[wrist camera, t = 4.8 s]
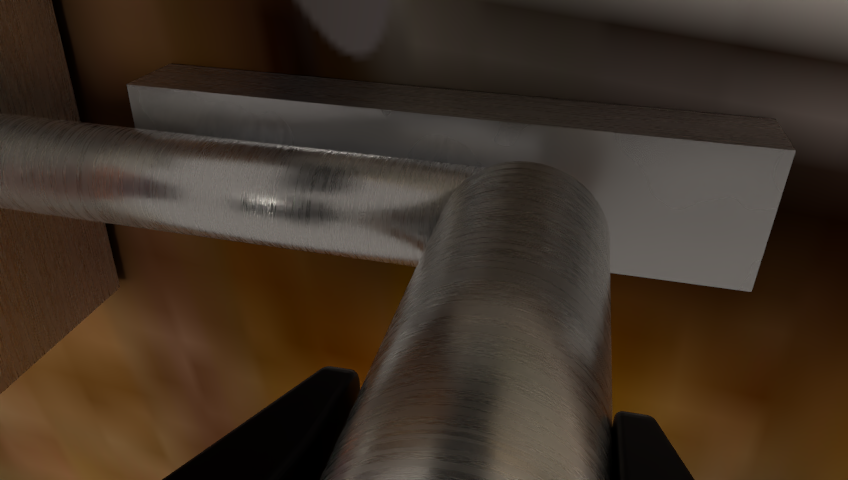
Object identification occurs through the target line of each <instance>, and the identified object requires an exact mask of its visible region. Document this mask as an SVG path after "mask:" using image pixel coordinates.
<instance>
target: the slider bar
mask: <svg viewBox="0 0 848 480" xmlns="http://www.w3.org/2000/svg"><path fill="white" fill-rule="evenodd" d="M105 223H111V224H118V225H125V226H132V227H139V228H146V229H153V230H160V231H167V232H174V233H181V234H188V235H195V236H202V237H209V238H216V239H223V240H230V241H238V242H245V243H252V244H259V245H266V246H273V247H280V248H287V249H294V250H301V251H308V252H315V253H322V254H329V255H336V256H343V257H350V258H357V259H364V260H371V261H379V262H386V263H393V264H400V265H407V266H414V267H416V269H415V271H414V274H413V276H412V278H411V280H410V282H409V285H408V287H407V289H406V291H405V293H404V295H403V298H402V300H401V302H400V304H399V306H398V309H397V311H396V313H395V315H394V317H393V320H392V322H391V324H390V326H389V328H388V331H387V333H386V335H385V337H384V339H383V341H382V344H381V346H380V348H379V350H378V352H377V355H376V357H375V359H374V361H373V363H372V366H371V368H370V370H369V372H368V374H367V377H366V379H365V381H364V383H363V385H362V387H361V390H360V392H359V394H358V396H357V398H356V401H355V403H354V405H353V407H352V409H351V412H350V414H349V416H348V418H347V420H346V423H345V425H344V427H343V429H342V431H341V433H340V436H339V438H338V440H337V442H336V444H335V447H334V449H333V451H332V453H331V455H330V458H329V460H328V462H327V464H326V466H325V469H324V471H323V473H322V475H321V477H320V479H319V480H613V454H612V365H611V294H610V237H609V228H608V223H607V220H606V217H605V214H604V212H603V210H602V208H601V206H600V204H599V202H598V201H597V200H596V198H595V197H594V196H593V194H592V193H591V192H590V191H589V190H588V189H587V188H586V187H585V186H584V185H583V184H582V183H580V182H579V181H578V180H577V179H575V178H574V177H572V176H571V175H569V174H567V173H565V172H564V171H561V170H559V169H557V168H554V167H551V166H548V165H545V164H541V163H535V162H526V161H514V162H504V163H499V164H495V165H492V166H489V167H478V166H469V165H460V164H451V163H442V162H433V161H424V160H415V159H406V158H397V157H388V156H379V155H370V154H361V153H353V152H344V151H335V150H326V149H317V148H308V147H299V146H290V145H281V144H272V143H263V142H254V141H245V140H236V139H227V138H219V137H210V136H201V135H192V134H183V133H174V132H165V131H156V130H147V129H138V128H129V127H120V126H111V125H102V124H93V123H85V122H81V121H80V117H79V113H78V109H77V105H76V100H75V96H74V92H73V88H72V84H71V79H70V75H69V71H68V67H67V63H66V59H65V54H64V50H63V46H62V42H61V38H60V33H59V29H58V25H57V21H56V17H55V12H54V8H53V4H52V0H0V394H1V393H2V392H3V391H4V390H5V389H7V388H8V387H9V386H10V385H11V384H12V383H13V382H14V381H16V380H17V379H18V378H19V377H20V376H21V375H22V374H23V373H24V372H26V371H27V370H28V369H29V368H30V367H31V366H32V365H33V364H35V363H36V362H37V361H38V360H39V359H40V358H41V357H42V356H44V355H45V354H46V353H47V352H48V351H49V350H50V349H51V348H53V347H54V346H55V345H56V344H57V343H58V342H59V341H60V340H62V339H63V338H64V337H65V336H66V335H67V334H68V333H69V332H70V331H72V330H73V329H74V328H75V327H76V326H77V325H78V324H79V323H81V322H82V321H83V320H84V319H85V318H86V317H87V316H88V315H90V314H91V313H92V312H93V311H94V310H95V309H96V308H97V307H99V306H100V305H101V304H102V303H103V302H104V301H105V300H106V299H108V298H109V297H110V296H111V295H112V294H113V293H114V292H115V291H116V290H118V289H119V288H120V285H119V280H118V276H117V272H116V268H115V264H114V259H113V255H112V251H111V247H110V243H109V239H108V234H107V230H106V226H105Z"/></svg>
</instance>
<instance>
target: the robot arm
mask: <svg viewBox="0 0 848 480" xmlns="http://www.w3.org/2000/svg"><path fill="white" fill-rule="evenodd" d="M359 392H360V382H359V377H358V374H357V373H356V372H355V371H354V370H351V369H344V368H338V367H331V366H328V367H324V368H322V369H320V370H319V371H317V372H316V373H314V374H313V375H312V376H310V377H309V378H307V379H306V380H304V381H303V382H302V383H300V384H299V385H297V386H296V387H294V388H293V389H291V390H290V391H289V392H287V393H286V394H284V395H283V396H281V397H280V398H279V399H277V400H276V401H274V402H273V403H271V404H270V405H269V406H267V407H266V408H264V409H263V410H261V411H260V412H258V413H257V414H256V415H254V416H253V417H251V418H250V419H248V420H247V421H246V422H244V423H243V424H241V425H240V426H238V427H237V428H236V429H234V430H233V431H231V432H230V433H228V434H227V435H225V436H224V437H223V438H221V439H220V440H218V441H217V442H215V443H214V444H213V445H211V446H210V447H208V448H207V449H205V450H204V451H203V452H201V453H200V454H198V455H197V456H195V457H194V458H192V459H191V460H190V461H188V462H187V463H185V464H184V465H182V466H181V467H180V468H178V469H177V470H175V471H174V472H172V473H171V474H170V475H168V476H167V477H165V478H164V479H162V480H319V479H320V477H321V475H322V473H323V471H324V469H325V466H326V464H327V462H328V460H329V458H330V455H331V453H332V451H333V449H334V447H335V444H336V442H337V440H338V438H339V436H340V433H341V431H342V429H343V427H344V425H345V423H346V420H347V418H348V416H349V414H350V412H351V409H352V407H353V405H354V403H355V401H356V398H357V396H358V394H359ZM612 454H613V480H694V478H693V477H692V475H691V474H690V472H689V471H688V469H687V468H686V466H685V465H684V463H683V462H682V460H681V458H680V457H679V455H678V454H677V452H676V451H675V449H674V448H673V446H672V445H671V443H670V442H669V440H668V439H667V437H666V435H665V434H664V432H663V431H662V429H661V428H660V426H659V425H658V423H657V422H656V420H655V419H654V418H653V417H651V416H649V415H643V414H637V413H630V412H624V411H620V412H618V413H617V414H616V415H615V417H614V421H613V426H612Z"/></svg>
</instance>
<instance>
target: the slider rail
mask: <svg viewBox="0 0 848 480" xmlns="http://www.w3.org/2000/svg"><path fill="white" fill-rule="evenodd" d="M126 85H127V90H128V95H129V100H130V105H131V110H132V115H133V120H134V125H135V128H138V129H147V130H156V131H165V132H174V133H183V134H192V135H201V136H210V137H219V138H227V139H236V140H245V141H254V142H263V143H272V144H281V145H290V146H299V147H308V148H317V149H326V150H335V151H344V152H353V153H361V154H370V155H379V156H388V157H397V158H406V159H415V160H424V161H433V162H442V163H451V164H460V165H469V166H478V167H489V166H492V165H495V164H499V163H504V162H514V161H526V162H535V163H541V164H545V165H548V166H551V167H554V168H557V169H559V170H561V171H564V172H565V173H567V174H569V175H571V176H572V177H574V178H575V179H577V180H578V181H579V182H580V183H582V184H583V185H584V186H585V187H586V188H587V189H588V190H589V191H590V192H591V193H592V194H593V196H594V197H595V198H596V200H597V201H598V202H599V204H600V206H601V208H602V210H603V212H604V214H605V217H606V220H607V223H608V228H609V237H610V273H616V274H623V275H630V276H638V277H645V278H652V279H660V280H667V281H674V282H682V283H689V284H696V285H704V286H711V287H718V288H726V289H733V290H740V291H748V292H752V289H753V285H754V282H755V279H756V276H757V273H758V270H759V266H760V263H761V260H762V257H763V254H764V250H765V247H766V244H767V241H768V238H769V235H770V231H771V228H772V225H773V222H774V219H775V216H776V212H777V209H778V206H779V203H780V200H781V196H782V193H783V190H784V187H785V184H786V181H787V177H788V174H789V171H790V168H791V165H792V162H793V158H794V155H795V152H796V150H795V148H794V147H793V145H792V144H791V142H790V141H789V139H788V138H787V136H786V135H785V133H784V132H783V130H782V128H781V127H780V125H779V124H778V122H777V121H776V119H770V118H759V117H748V116H737V115H726V114H715V113H704V112H693V111H682V110H672V109H661V108H650V107H639V106H628V105H617V104H606V103H595V102H584V101H573V100H562V99H551V98H540V97H529V96H518V95H508V94H497V93H486V92H475V91H464V90H453V89H442V88H431V87H420V86H409V85H398V84H387V83H376V82H365V81H354V80H344V79H333V78H322V77H311V76H300V75H289V74H278V73H267V72H256V71H245V70H234V69H223V68H212V67H201V66H190V65H179V64H168V65H166V66H164V67H162V68H160V69H158V70H156V71H153V72H151V73H149V74H147V75H145V76H143V77H141V78H139V79H137V80H135V81H133V82H130V83H128V84H126Z"/></svg>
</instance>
